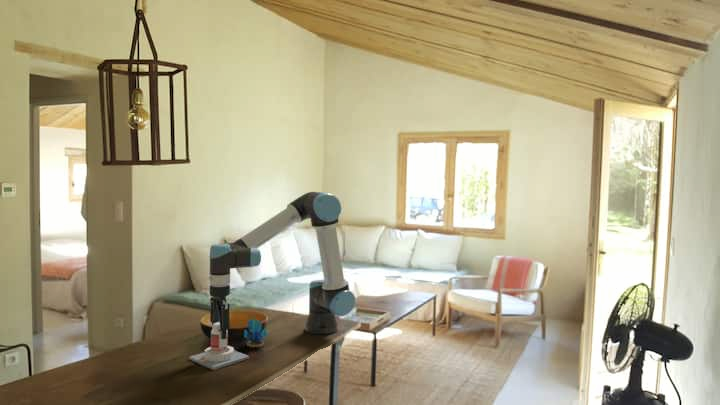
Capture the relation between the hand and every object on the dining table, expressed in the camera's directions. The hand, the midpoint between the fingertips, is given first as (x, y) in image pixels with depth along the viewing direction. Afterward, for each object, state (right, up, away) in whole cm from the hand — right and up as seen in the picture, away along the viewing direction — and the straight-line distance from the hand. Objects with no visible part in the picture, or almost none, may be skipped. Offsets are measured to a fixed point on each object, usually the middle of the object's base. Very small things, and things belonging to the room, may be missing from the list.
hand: (219, 344), depth 197 cm
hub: (0, -6, 0) cm, 6 cm away
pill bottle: (0, -3, 0) cm, 3 cm away
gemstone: (+10, -5, +18) cm, 21 cm away
